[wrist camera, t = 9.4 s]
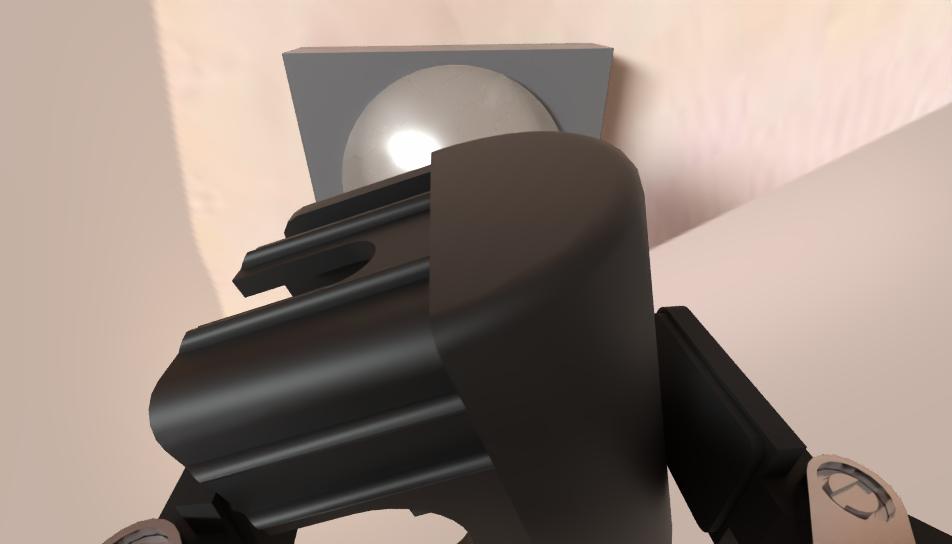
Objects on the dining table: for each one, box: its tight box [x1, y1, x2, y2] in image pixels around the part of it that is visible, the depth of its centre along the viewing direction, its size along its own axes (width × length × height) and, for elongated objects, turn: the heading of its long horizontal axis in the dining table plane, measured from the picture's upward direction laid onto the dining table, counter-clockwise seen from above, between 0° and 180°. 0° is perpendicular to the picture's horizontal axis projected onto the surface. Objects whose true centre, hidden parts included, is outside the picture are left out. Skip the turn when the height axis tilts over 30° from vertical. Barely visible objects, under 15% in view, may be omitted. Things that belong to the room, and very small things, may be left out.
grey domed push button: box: [282, 43, 614, 202], centre depth 22 cm, size 14×12×3 cm
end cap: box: [149, 131, 672, 544], centre depth 9 cm, size 10×7×7 cm
